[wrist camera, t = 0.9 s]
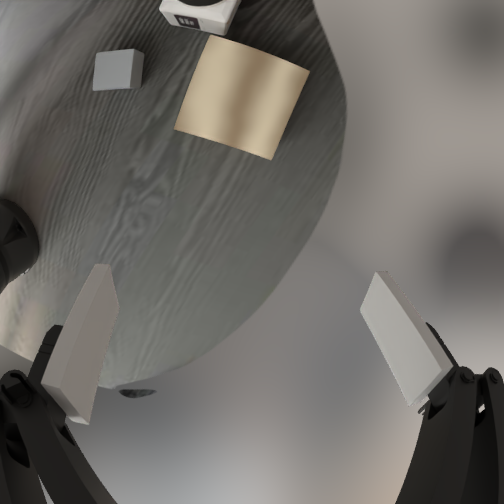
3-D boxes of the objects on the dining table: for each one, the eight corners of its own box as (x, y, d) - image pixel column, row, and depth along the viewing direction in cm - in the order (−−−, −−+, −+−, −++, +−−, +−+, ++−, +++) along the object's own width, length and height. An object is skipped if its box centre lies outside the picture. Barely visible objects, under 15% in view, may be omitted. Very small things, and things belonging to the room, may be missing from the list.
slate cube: (107, 90, 29) (92, 90, 25) (110, 56, 27) (96, 53, 23) (140, 87, 30) (129, 87, 26) (144, 53, 28) (134, 48, 23)
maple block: (180, 123, 34) (173, 129, 29) (211, 43, 28) (210, 34, 23) (263, 150, 37) (271, 160, 32) (296, 74, 32) (309, 71, 27)
